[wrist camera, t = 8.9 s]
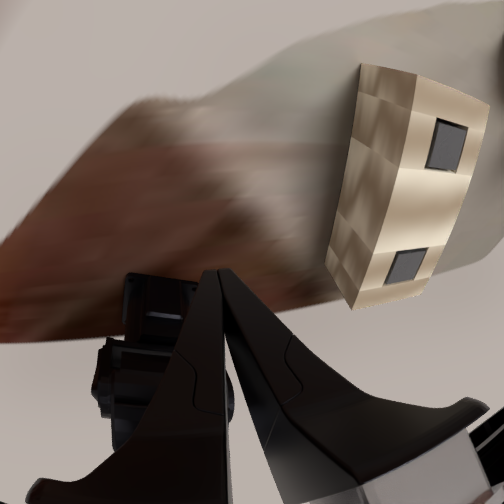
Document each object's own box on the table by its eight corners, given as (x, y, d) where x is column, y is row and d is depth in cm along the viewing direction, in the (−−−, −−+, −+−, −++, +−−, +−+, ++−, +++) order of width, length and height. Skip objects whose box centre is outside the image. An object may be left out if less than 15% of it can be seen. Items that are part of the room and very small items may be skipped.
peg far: (384, 244, 26) (412, 279, 22) (358, 246, 25) (386, 284, 22) (393, 217, 24) (425, 250, 20) (366, 218, 24) (398, 254, 20)
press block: (390, 255, 29) (420, 294, 24) (324, 263, 27) (351, 310, 23) (436, 85, 18) (489, 105, 13) (361, 63, 16) (417, 74, 12)
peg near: (413, 144, 20) (455, 170, 16) (385, 140, 19) (428, 166, 16) (420, 110, 18) (466, 130, 14) (392, 103, 18) (439, 123, 14)
